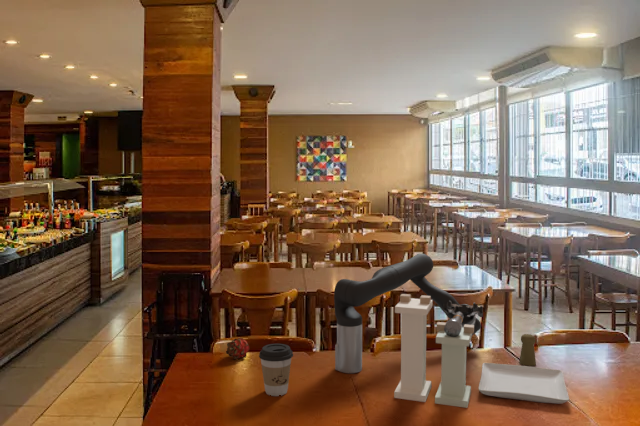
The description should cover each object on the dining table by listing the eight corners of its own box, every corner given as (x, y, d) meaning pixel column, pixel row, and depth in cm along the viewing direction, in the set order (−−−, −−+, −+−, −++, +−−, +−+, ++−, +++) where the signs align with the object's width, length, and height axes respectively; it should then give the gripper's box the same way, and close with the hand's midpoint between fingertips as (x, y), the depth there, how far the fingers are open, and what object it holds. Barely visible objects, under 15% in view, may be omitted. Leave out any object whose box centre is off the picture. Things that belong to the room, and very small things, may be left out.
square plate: (562, 379, 199) (562, 368, 198) (569, 411, 173) (569, 399, 172) (482, 370, 207) (482, 360, 207) (477, 399, 182) (478, 388, 181)
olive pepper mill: (537, 366, 210) (538, 337, 209) (520, 365, 212) (521, 336, 211) (534, 361, 216) (535, 332, 215) (517, 360, 217) (518, 332, 216)
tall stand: (394, 397, 182) (395, 300, 180) (402, 383, 195) (403, 291, 192) (425, 402, 179) (426, 302, 176) (431, 386, 191) (432, 294, 189)
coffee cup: (267, 401, 180) (266, 355, 179) (254, 389, 190) (253, 345, 189) (299, 394, 185) (299, 350, 184) (285, 382, 195) (284, 340, 194)
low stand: (432, 403, 178) (433, 330, 176) (437, 387, 191) (439, 319, 189) (470, 408, 174) (471, 333, 172) (473, 392, 187) (474, 322, 185)
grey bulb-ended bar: (461, 337, 175) (460, 321, 174) (444, 337, 176) (443, 321, 176) (466, 320, 194) (466, 306, 194) (452, 320, 196) (451, 305, 195)
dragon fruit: (231, 367, 215) (239, 361, 227) (249, 354, 214) (256, 349, 226) (219, 348, 216) (227, 343, 227) (237, 336, 215) (244, 331, 227)
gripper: (446, 305, 221) (442, 293, 207) (484, 308, 216) (483, 295, 202) (445, 324, 218) (441, 312, 204) (483, 328, 213) (481, 316, 199)
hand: (461, 304), depth 203 cm, fingers open, 8 cm apart
